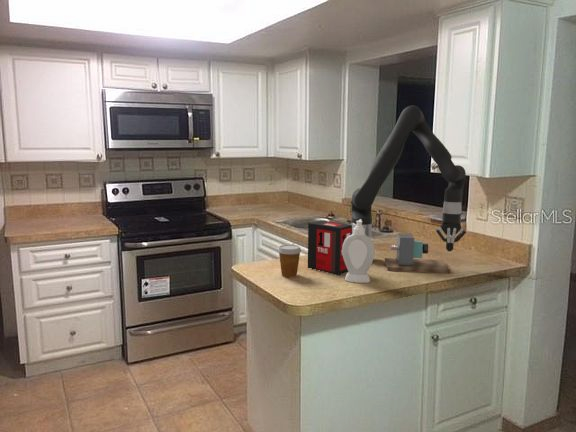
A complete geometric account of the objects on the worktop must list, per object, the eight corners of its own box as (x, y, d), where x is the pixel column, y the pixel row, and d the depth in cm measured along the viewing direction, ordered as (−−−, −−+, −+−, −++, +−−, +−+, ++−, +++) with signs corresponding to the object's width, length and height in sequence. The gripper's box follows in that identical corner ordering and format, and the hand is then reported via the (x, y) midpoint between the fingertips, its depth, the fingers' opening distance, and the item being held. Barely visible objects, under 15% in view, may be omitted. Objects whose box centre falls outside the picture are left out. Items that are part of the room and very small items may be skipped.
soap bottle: (374, 278, 194) (377, 219, 190) (372, 284, 187) (375, 223, 183) (343, 276, 198) (344, 217, 194) (340, 281, 190) (341, 221, 186)
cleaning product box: (307, 268, 209) (308, 223, 206) (319, 264, 216) (320, 220, 213) (339, 275, 199) (340, 228, 195) (350, 270, 205) (352, 225, 202)
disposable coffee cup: (281, 279, 193) (281, 250, 191) (275, 272, 202) (275, 244, 200) (303, 277, 195) (304, 248, 193) (296, 271, 204) (297, 243, 202)
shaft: (391, 253, 211) (391, 243, 210) (390, 250, 215) (391, 241, 214) (427, 254, 209) (428, 244, 208) (426, 252, 213) (426, 242, 212)
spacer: (412, 257, 209) (413, 241, 209) (411, 256, 214) (411, 240, 214) (422, 258, 208) (422, 242, 208) (420, 256, 214) (420, 241, 214)
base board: (387, 270, 206) (387, 267, 206) (384, 261, 222) (384, 257, 222) (449, 273, 203) (449, 269, 203) (442, 263, 219) (442, 260, 219)
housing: (398, 265, 208) (400, 237, 206) (396, 260, 218) (397, 233, 216) (412, 266, 208) (414, 238, 206) (409, 260, 217) (411, 233, 215)
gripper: (465, 211, 209) (463, 249, 212) (434, 210, 211) (432, 248, 214) (470, 213, 202) (467, 253, 205) (437, 212, 204) (435, 252, 207)
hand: (449, 251), depth 209 cm, fingers closed
